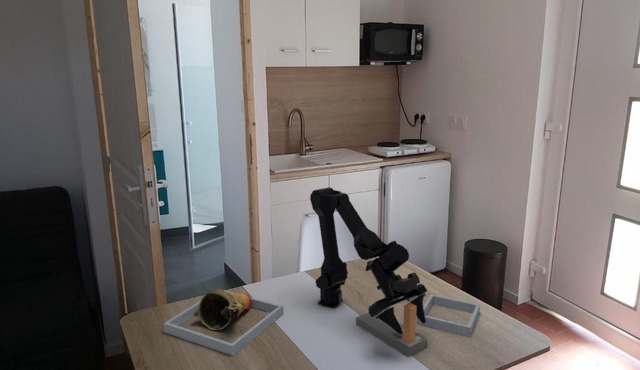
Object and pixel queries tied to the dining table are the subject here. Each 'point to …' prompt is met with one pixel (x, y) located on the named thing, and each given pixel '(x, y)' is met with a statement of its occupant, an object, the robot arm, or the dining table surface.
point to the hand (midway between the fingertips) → (413, 328)
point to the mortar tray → (217, 344)
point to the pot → (221, 307)
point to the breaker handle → (409, 326)
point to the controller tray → (449, 325)
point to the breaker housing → (389, 334)
